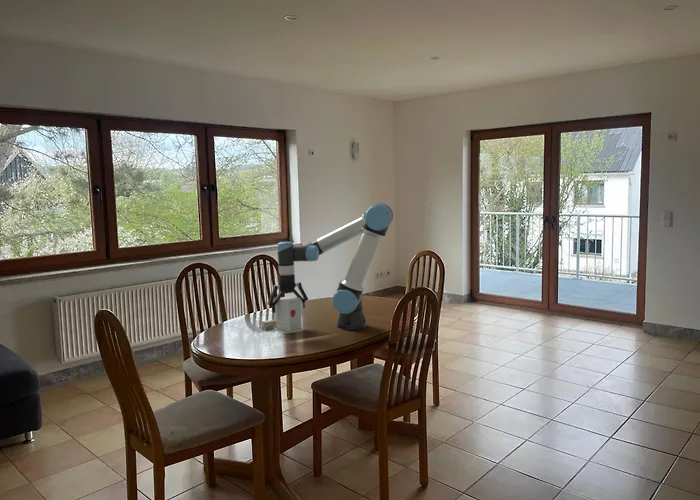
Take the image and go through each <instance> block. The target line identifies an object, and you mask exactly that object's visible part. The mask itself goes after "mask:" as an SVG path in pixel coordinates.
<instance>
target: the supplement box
mask: <svg viewBox="0 0 700 500" xmlns="http://www.w3.org/2000/svg"><path fill="white" fill-rule="evenodd" d="M275 306H277V318H278V320H276V329H280V330H285V331H292V330H295V329H298V328H302V315H301V298H298V297H297V296H288V295H286V296H283V297H282V296H281V298H280V299H279V301H278V302H277V304H276V305H275Z"/></svg>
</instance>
